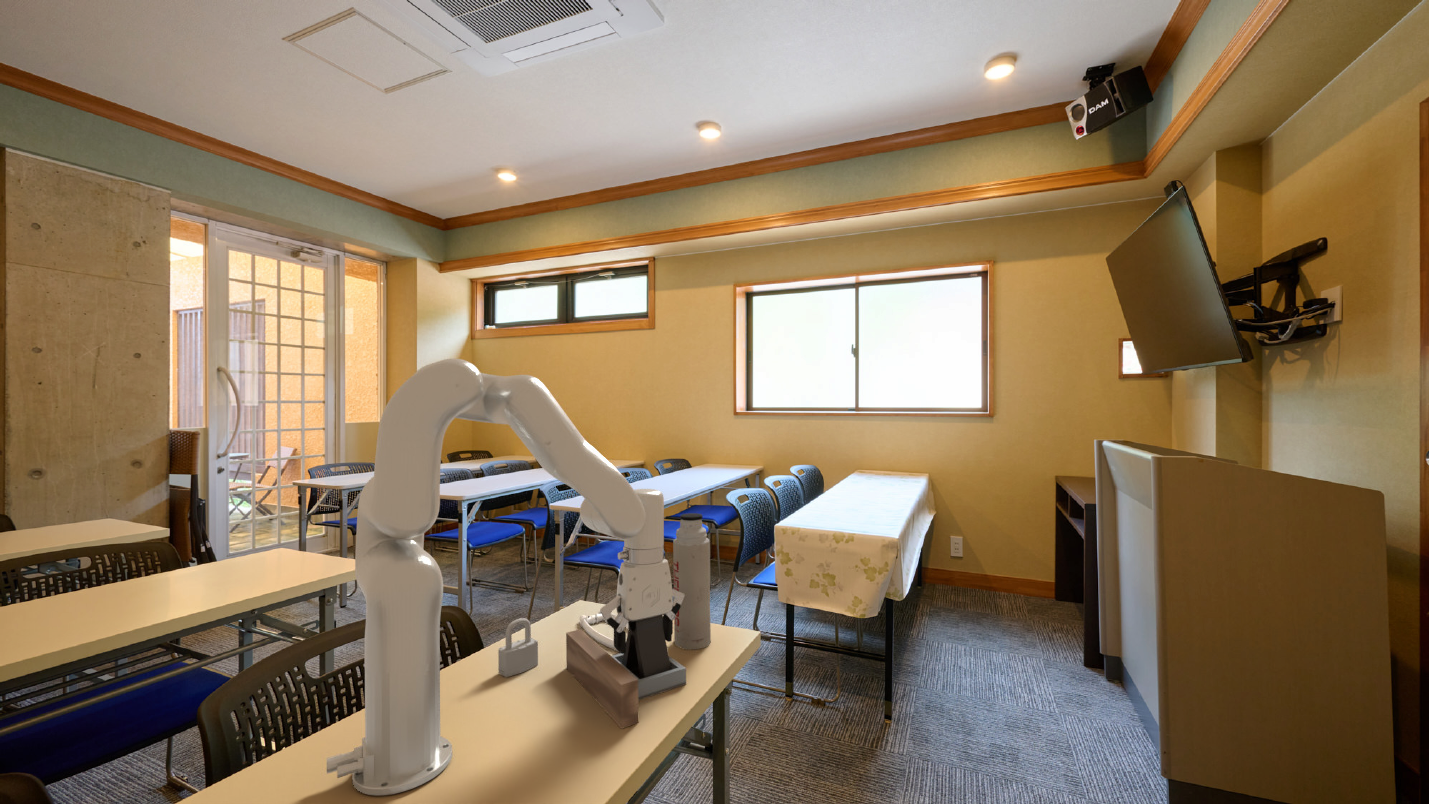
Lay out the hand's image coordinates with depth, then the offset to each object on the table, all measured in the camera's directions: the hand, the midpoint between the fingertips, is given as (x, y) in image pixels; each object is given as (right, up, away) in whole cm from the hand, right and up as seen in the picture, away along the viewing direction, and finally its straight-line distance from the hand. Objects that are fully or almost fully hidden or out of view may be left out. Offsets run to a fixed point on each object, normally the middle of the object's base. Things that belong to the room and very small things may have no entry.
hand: (643, 645), depth 108 cm
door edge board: (-8, -6, -5) cm, 11 cm away
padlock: (-25, -7, +5) cm, 27 cm away
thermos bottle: (+9, -7, +17) cm, 20 cm away
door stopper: (0, -6, 0) cm, 6 cm away
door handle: (-9, -7, +21) cm, 24 cm away
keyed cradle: (0, -6, 0) cm, 6 cm away
